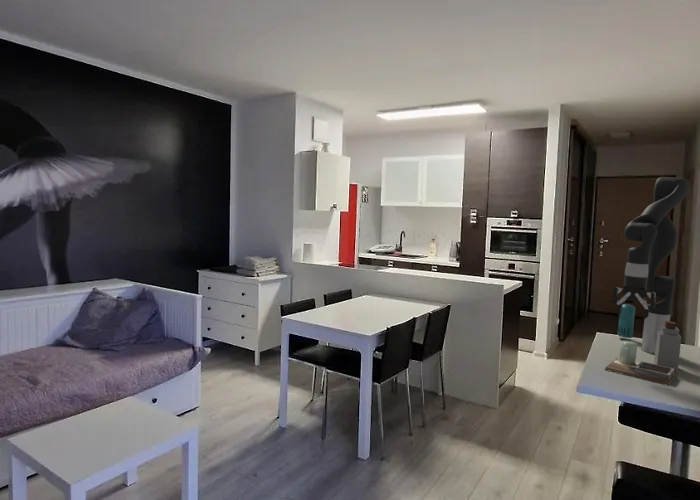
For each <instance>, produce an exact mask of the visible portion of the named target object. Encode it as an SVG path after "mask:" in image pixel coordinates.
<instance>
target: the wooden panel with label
mask: <svg viewBox="0 0 700 500" xmlns="http://www.w3.org/2000/svg"><path fill="white" fill-rule="evenodd" d="M605 370H607V371H610V372H615V373H617V372H618V373H619V374H621V373H622V374H621V375H625V374H626V376H629V375H631V376H630V377H633V376H634V378H637V379H643V380H646V381H651V382H654V383H659V384H661V385H662V384H663V385H666V386H669V385H670V383H671V382H672V380H673V379H674V378H675V377H676V375H677V374H678V372H677V371H675V369H674V368H669V367H665V366H660V365H656V364H654V363H651V362H646V361H640V362H637V361H636V364H635V365H627V364H623V363H620V362H619V357H617V358H615V359H614V360H613V361H611V362H610V363H609V364H608V365H606V366H605ZM618 373H617V374H618Z"/></svg>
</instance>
